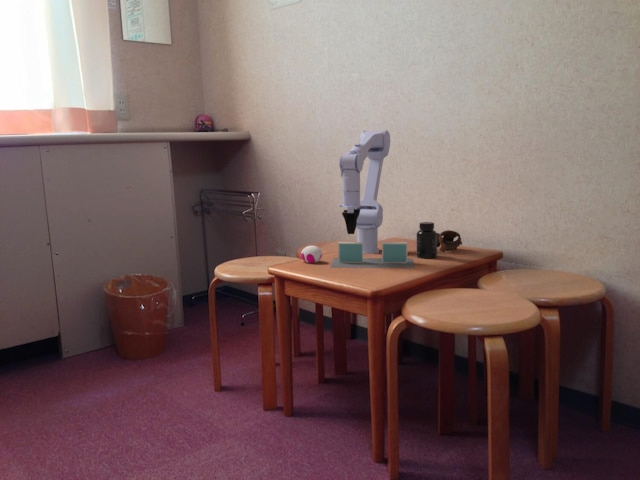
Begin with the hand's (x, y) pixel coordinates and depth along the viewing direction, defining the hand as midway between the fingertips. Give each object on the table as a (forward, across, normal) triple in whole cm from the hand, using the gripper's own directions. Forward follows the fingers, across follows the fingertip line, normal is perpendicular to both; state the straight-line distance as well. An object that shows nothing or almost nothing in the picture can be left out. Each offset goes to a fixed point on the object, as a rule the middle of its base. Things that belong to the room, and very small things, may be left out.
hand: (351, 232), depth 186 cm
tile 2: (+9, +5, +14) cm, 17 cm away
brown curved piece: (+10, -20, +33) cm, 40 cm away
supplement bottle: (+10, -5, +25) cm, 27 cm away
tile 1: (+9, +5, 0) cm, 10 cm away
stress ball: (+10, +5, -13) cm, 17 cm away
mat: (+9, +6, +7) cm, 13 cm away
